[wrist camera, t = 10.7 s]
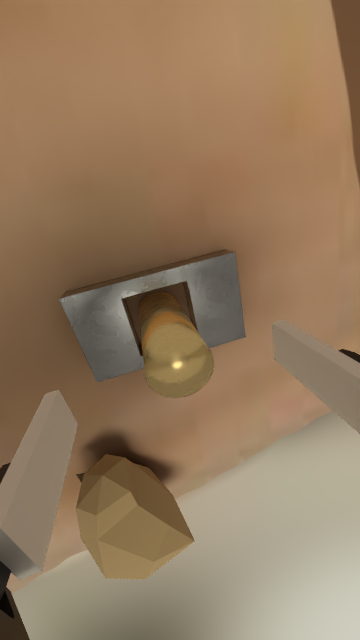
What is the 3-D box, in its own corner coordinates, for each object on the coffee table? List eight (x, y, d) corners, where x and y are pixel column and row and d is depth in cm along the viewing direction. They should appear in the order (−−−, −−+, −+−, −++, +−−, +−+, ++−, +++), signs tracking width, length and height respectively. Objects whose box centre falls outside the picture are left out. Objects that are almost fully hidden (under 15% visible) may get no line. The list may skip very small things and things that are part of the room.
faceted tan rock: (170, 496, 36) (216, 485, 29) (138, 600, 28) (192, 622, 20) (89, 443, 34) (116, 418, 27) (29, 537, 26) (45, 537, 19)
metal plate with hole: (100, 368, 26) (97, 382, 23) (66, 291, 22) (59, 298, 20) (235, 327, 27) (245, 336, 25) (224, 249, 24) (235, 251, 21)
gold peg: (145, 336, 25) (155, 406, 15) (133, 298, 24) (135, 349, 13) (184, 324, 26) (218, 385, 16) (174, 286, 24) (207, 328, 14)
